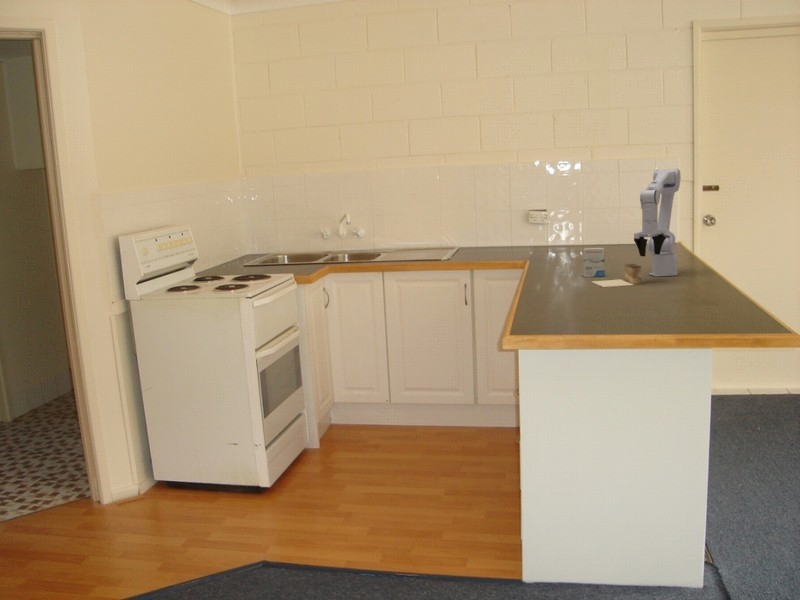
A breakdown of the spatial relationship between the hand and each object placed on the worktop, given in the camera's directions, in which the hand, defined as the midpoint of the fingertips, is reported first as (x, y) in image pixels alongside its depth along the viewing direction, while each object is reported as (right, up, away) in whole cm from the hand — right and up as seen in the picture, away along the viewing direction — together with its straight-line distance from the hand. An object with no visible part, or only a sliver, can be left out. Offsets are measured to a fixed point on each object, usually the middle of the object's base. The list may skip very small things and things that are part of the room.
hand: (649, 255), depth 302 cm
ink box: (-16, -8, +23) cm, 29 cm away
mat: (-15, -11, +1) cm, 19 cm away
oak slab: (-6, -11, +1) cm, 13 cm away
